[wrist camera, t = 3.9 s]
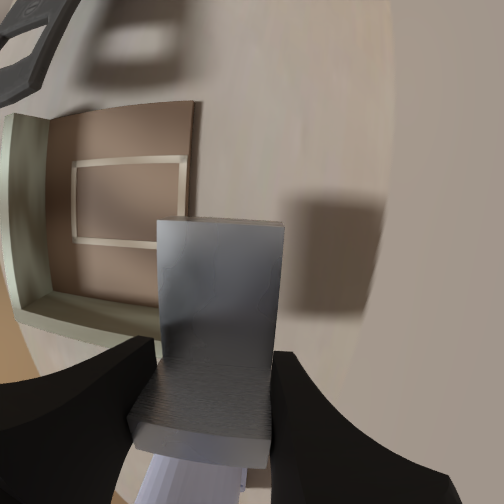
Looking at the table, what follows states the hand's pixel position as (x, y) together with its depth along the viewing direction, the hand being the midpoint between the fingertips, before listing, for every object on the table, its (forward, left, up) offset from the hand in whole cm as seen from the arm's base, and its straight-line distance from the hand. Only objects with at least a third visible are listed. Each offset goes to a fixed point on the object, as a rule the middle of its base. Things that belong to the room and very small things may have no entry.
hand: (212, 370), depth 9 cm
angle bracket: (+2, 0, -2) cm, 3 cm away
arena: (+4, +8, -7) cm, 12 cm away
